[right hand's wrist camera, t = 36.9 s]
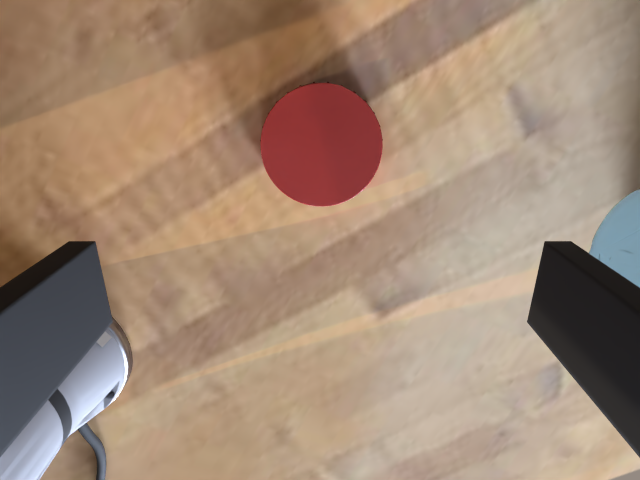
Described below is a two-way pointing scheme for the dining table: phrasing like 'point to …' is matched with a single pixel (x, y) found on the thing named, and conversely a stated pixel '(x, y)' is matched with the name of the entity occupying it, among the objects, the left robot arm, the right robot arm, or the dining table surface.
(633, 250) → the left robot arm
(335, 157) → the lid
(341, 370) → the dining table surface
